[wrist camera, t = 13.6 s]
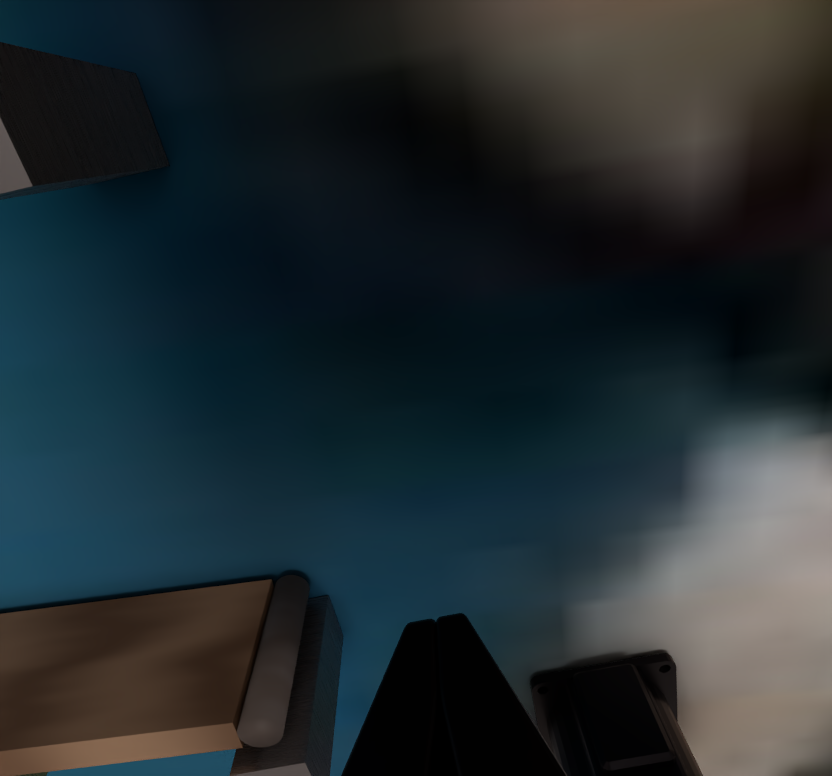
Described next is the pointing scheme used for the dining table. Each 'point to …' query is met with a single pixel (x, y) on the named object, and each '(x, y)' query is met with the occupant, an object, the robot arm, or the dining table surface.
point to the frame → (108, 159)
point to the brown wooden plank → (148, 675)
